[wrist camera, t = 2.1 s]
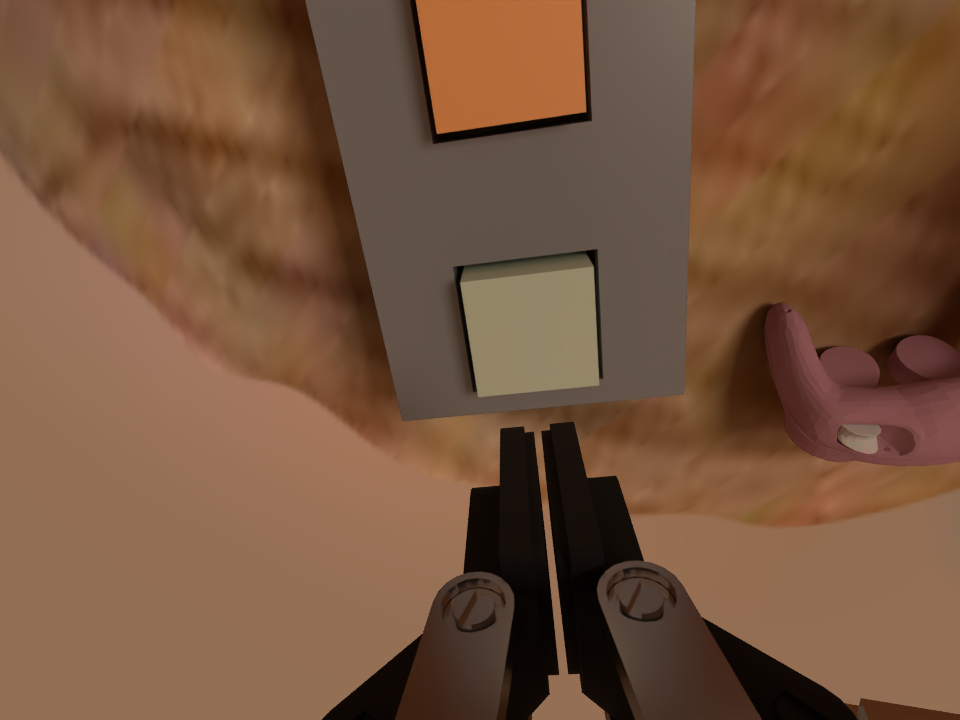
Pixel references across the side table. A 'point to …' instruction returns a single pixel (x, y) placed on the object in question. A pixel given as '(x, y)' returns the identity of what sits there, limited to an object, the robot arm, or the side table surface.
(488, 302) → the button sage
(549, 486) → the robot arm
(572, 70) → the button orange
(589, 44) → the button panel
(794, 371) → the video game controller
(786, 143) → the side table surface
